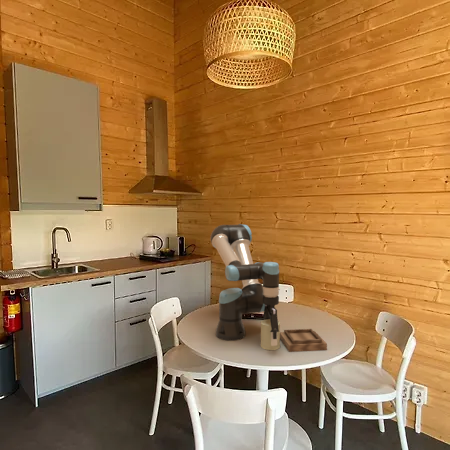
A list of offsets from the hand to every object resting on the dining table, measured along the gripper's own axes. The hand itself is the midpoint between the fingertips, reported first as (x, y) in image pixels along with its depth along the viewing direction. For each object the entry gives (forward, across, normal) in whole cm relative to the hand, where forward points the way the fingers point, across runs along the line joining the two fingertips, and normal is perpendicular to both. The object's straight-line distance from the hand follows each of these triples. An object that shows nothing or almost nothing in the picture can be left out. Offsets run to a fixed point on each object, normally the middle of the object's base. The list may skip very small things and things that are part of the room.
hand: (270, 339), depth 164 cm
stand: (+3, +1, -16) cm, 16 cm away
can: (+4, 0, 0) cm, 4 cm away
